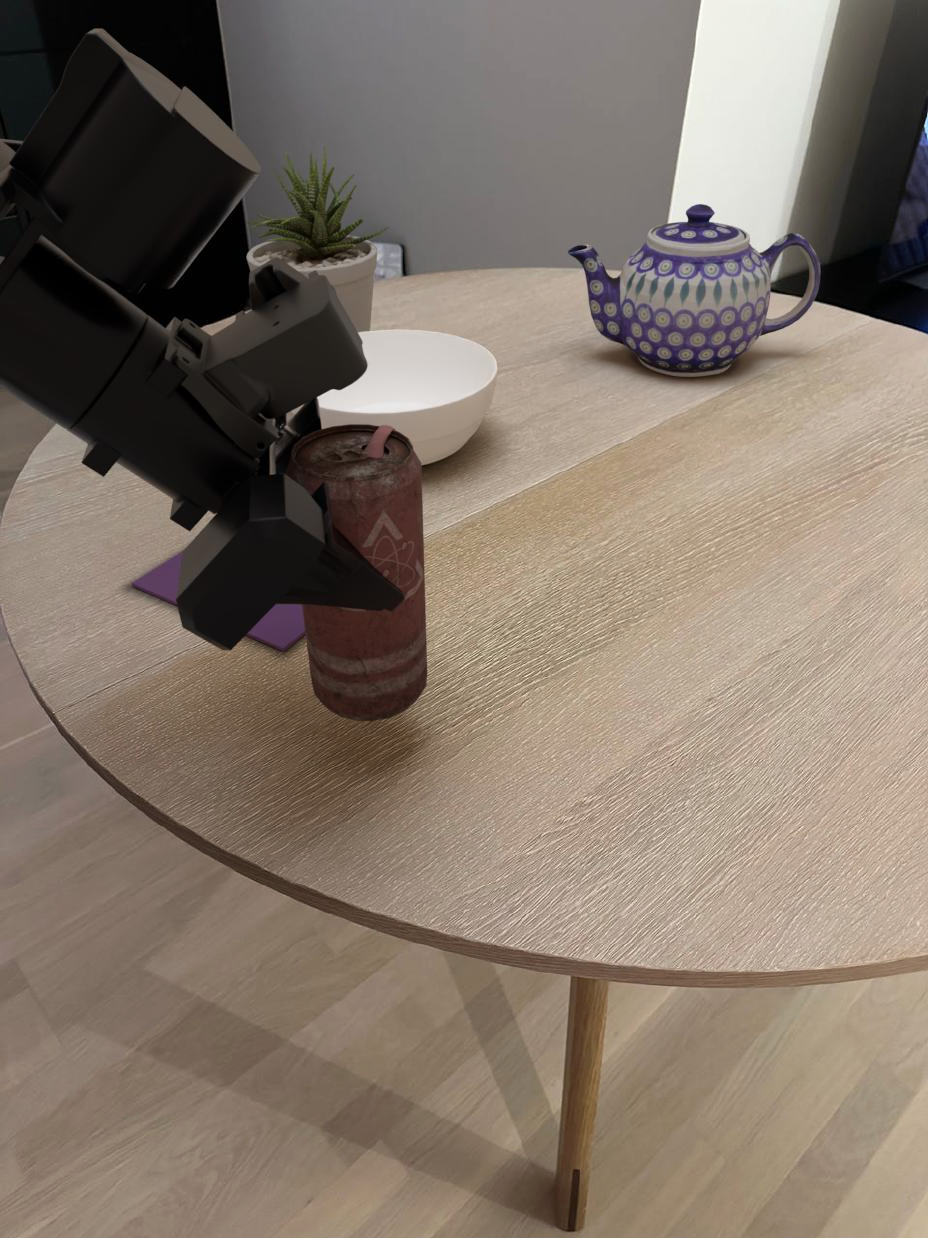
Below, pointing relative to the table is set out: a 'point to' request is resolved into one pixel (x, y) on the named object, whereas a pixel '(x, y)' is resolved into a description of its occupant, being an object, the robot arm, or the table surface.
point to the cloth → (272, 629)
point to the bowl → (417, 389)
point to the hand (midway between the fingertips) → (392, 572)
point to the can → (393, 543)
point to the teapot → (692, 294)
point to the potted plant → (323, 243)
